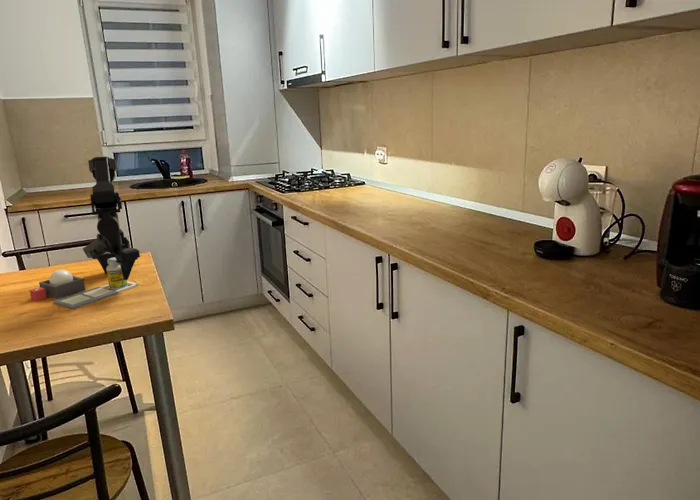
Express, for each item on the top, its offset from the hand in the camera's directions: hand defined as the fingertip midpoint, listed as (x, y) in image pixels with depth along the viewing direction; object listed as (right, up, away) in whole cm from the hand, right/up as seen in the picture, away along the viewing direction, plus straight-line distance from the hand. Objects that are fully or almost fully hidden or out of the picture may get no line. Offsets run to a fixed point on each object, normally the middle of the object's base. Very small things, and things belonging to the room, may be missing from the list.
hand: (117, 277), depth 162 cm
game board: (-4, -5, -5) cm, 8 cm away
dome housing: (-17, -5, -4) cm, 18 cm away
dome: (-16, -4, -2) cm, 16 cm away
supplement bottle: (0, -3, +1) cm, 4 cm away
